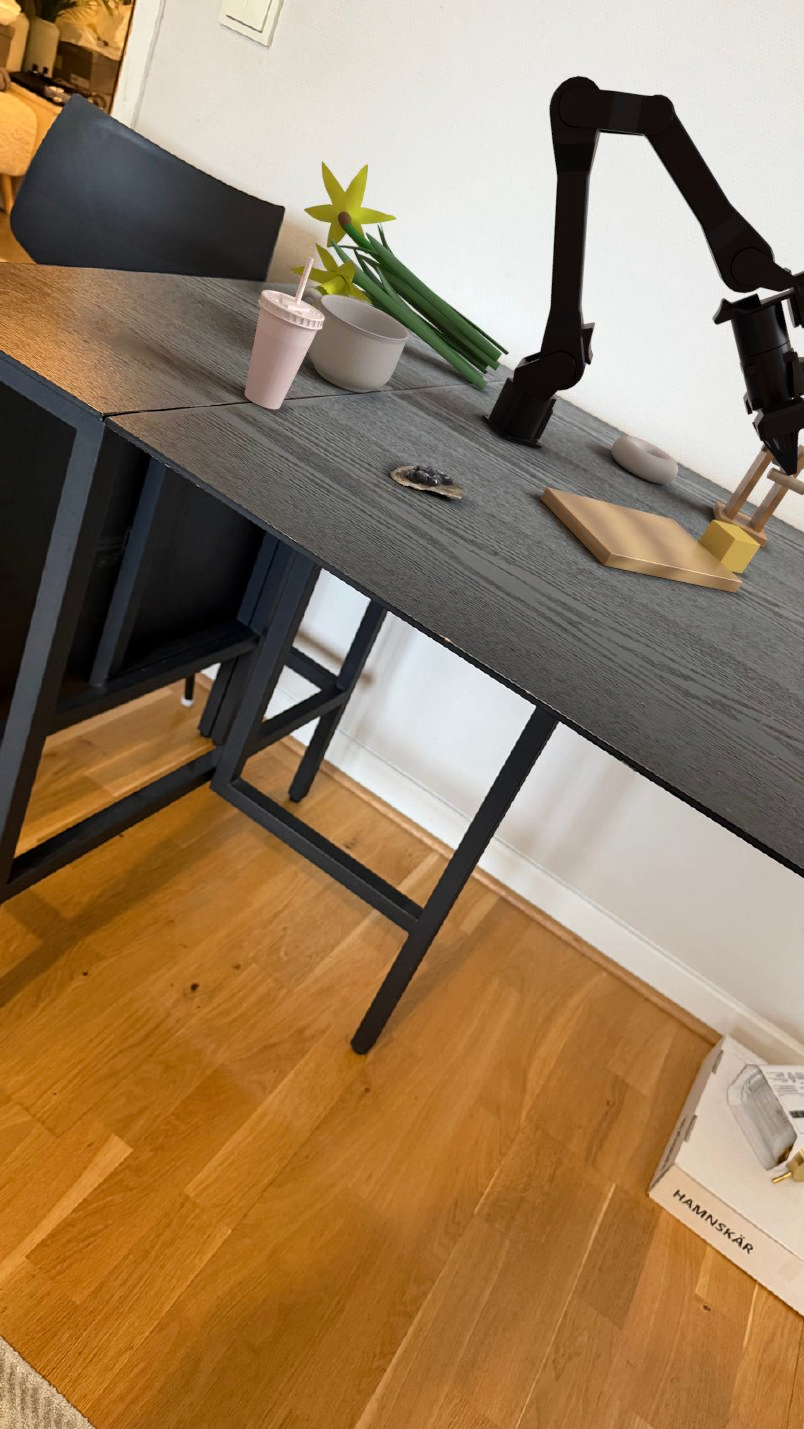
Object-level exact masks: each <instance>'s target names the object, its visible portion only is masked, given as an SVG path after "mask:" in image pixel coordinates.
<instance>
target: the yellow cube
mask: <svg viewBox="0 0 804 1429" xmlns="http://www.w3.org/2000/svg"><path fill="white" fill-rule="evenodd" d="M698 542H699V543H700V544H701V545H702V546H703V547H704V548H706V549H707V550H708V551H709V552H710V553H711V554H712V555H713V556H714V557H716V558H717V559H718V560H719V561H720V562H721V563H722V564H723V565H724V566H726V567H727V568H728V569H729V570H730V571H731V572H732V573H736V574H743V572H744V571H745V569H746V567H748V565H749V564H750V562H751V560H752V559H753V558H754V556H755V555H756V553H757V552H758V550H759V549H760V548H761V547H760V544H759V543H757V542H756V541H755V540H754V539H753V538H751V537H750V536H749V535H748V534H747V533H745V532H744V531H743V530H742V529H741V528H739V527H738V526H736V525H732V524H728V523H724V522H720V521H717V520H715V519H711V521H710V523H709V525H708V526H707V528H705V531H704V532H703V534H702V536H701V537H700V539H699V540H698Z"/></svg>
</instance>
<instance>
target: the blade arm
mask: <svg viewBox="0 0 804 1429" xmlns="http://www.w3.org/2000/svg"><path fill="white" fill-rule="evenodd" d="M771 464H772V465H774V466H777V467H778V468H779V469H778V468H776V467H770V469H769V470H768V472H767V473H766V479H767V480H770V481H772V482H774V483H775V482H776V483H778V484H780V485H782V486H784V487H786V488H788V489H789V490H790V491H791V492H795V493H796V494H798V495H800V496H804V481H802V480H800V479H798V478H794V477H793V475H791V476H788V475H787V474H786V472H785V471H784V470H783V468H782V467H781V466H780V464H779V463H778V462H777V460H776V459H775V457H774V458H773V459H772V461H771Z"/></svg>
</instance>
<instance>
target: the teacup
mask: <svg viewBox="0 0 804 1429" xmlns="http://www.w3.org/2000/svg"><path fill="white" fill-rule="evenodd" d="M307 298H311V299H312V300H313V301H314V302H315V306H316V309H317V310H319V311H320V312H321V313H322V314H323V315H324V317H325V319H324V322H323V325H322V329H320V330H317V332H316V334H315V336H314V338H313V341H312V343H311V345H310V347H309V349H308V351H307V354H308V356H309V359H310V360H311V363H312V364H313V365H314V369H315V371H316V372H317V373H318V374H319V376H320V377H322V378H323V379H325V380H326V381H328V382H329V383H331V384H332V385H334V386H336V387H338V388H341V389H342V390H343V389H344V390H346V391H350V392H354V393H361V394H363V393H368V392H370V391H372V390H375V389H379V388H381V387H383V386H384V385H386V384H387V383H388V382H389V380H390V379H391V378H392V375H393V374H394V372H395V369H396V367H397V365H398V363H399V361H400V358H401V356H402V354H403V350H404V348H405V346H406V342H408V340H409V339H410V333H409V331H408V329H407V328H406V327H405V326H403V325H402V324H401V323H399V322H398V321H397V320H395V319H394V318H392V317H391V316H389V315H388V314H386V313H384V312H382V311H381V310H379V309H376V308H374V307H372V306H373V305H372V306H370V305H371V304H369V303H365V302H364V301H362V300H359V299H356V298H353V297H350V296H349V297H345V296H340V295H331V294H329V295H323V296H322V295H321V293H320V292H319V291H317V290H316V289H315V288H313V287H305V288H304V291H303V294H302V297H301V300H302V301H304V302H305V299H307Z"/></svg>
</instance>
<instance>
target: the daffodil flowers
mask: <svg viewBox="0 0 804 1429" xmlns="http://www.w3.org/2000/svg"><path fill="white" fill-rule="evenodd" d="M368 170H369V165H368V164H367V163H366V164H365V165H363V167H361V168H360V170H359V171H358V172H357V174H356V175H355V176H354V177H353V179H352V180H351V181H350V183H349V185H348V186H347V188H346V190H345V189H344V188H343V187H342V185H341V183H340V182H339V181H338V179H337V178H336V177H335V175H334V174H333V172H332V171H331V170H330V168H329V167H328V166H327V165H326V163H325V162H324V161H321V177H322V180H323V185H324V188H325V191H326V193H327V196H328V197H329V199H330V202H331V203H328V204H326V203H325V204H319V205H314V206H309V207H306V208H303V211H304V212H305V213H307V215H309V216H310V217H311V218H313V219H315V220H317V221H319V222H322V223H329V224H330V226H329V229H328V235H327V240H326V248H327V249H330V248H333V249H334V251H335V253H336V255H337V256H338V257H339V259H340V260H341V261H342V264H340V265H338V263H337V262H336V260H335V258H334V256H333V255H332V254H331V253H330V251H328V250H327V249H326V248H324V247H323V246H321V245H320V244H318V243H317V242H315V243H314V244H315V248H316V251H317V253H318V256H319V257H320V260H321V262H322V264H323V267H324V269H325V270H323V269H319V268H316V267H311V270H310V273H309V276H308V279H309V280H311V281H313V282H316V283H318V284H320V285H317V286H315V288H314V289H316V290H317V291H319V292H320V293H321V295H322V296H323V295H329V294H331V295H340V296H345V297H349V298H350V297H351V298H353V299H356V300H359V301H362V302H367V304H369V305H370V306H372V307H374V308H376V309H379V310H381V311H382V312H384V313H386V314H388V315H389V316H391V317H392V318H394V319H395V320H397V321H398V322H399V323H401V324H402V325H403V326H404V327H405V328H406V329H407V330H409V331H411V332H412V333H413V334H415V336H417V337H418V338H419V339H420V340H422V341H423V342H424V343H425V344H426V345H427V346H429V347H430V348H431V349H432V350H433V351H435V352H436V353H437V354H438V355H439V356H440V357H442V358H443V359H444V360H445V361H446V362H447V363H449V364H450V365H451V366H452V367H453V368H455V370H457V371H458V372H459V373H460V374H461V375H462V376H463V377H464V378H466V379H467V380H468V381H469V382H470V383H472V384H473V385H474V386H475V387H476V388H478V389H479V390H480V392H483V390H484V389H485V387H486V386H487V384H488V382H487V381H486V380H484V375H487V374H488V372H489V371H488V370H487V368H488V367H490V368H491V369H492V370H494V372H495V371H497V370H498V368H499V367H500V365H501V363H500V362H499V359H500V358H501V356H502V355H503V354H504V355H505V356H507V355H509V354H510V351H508V350H507V349H506V348H505V347H504V346H502V345H501V344H500V343H499V342H498V341H496V340H495V339H494V338H492V337H491V336H490V335H489V334H488V333H486V332H485V331H484V330H483V329H481V328H480V327H479V325H477V324H475V323H474V322H473V321H471V320H470V319H469V318H467V317H466V316H465V315H464V314H462V312H460V311H459V310H458V309H456V308H455V307H454V306H452V305H451V304H449V303H448V302H447V301H446V300H445V299H443V298H442V297H440V296H439V295H438V294H437V293H436V292H434V291H433V290H432V289H431V288H430V287H429V286H427V284H425V282H423V281H422V280H421V279H420V278H419V277H418V276H417V275H416V274H415V273H414V272H412V271H411V270H410V269H409V268H408V267H407V266H406V265H405V264H404V263H403V262H402V261H401V260H399V259H398V258H397V257H396V255H395V254H394V252H393V251H392V249H391V248H390V246H389V244H388V242H387V240H386V236H385V233H384V232H385V231H384V229H383V226H382V223H386V222H391V221H396V220H397V217H396V216H394V215H393V214H387V213H384V212H382V211H379V210H375V209H371V208H368V207H366V206H365V207H363V206H362V204H363V201H364V197H365V191H366V186H367V180H368ZM371 224H376V225H377V229H378V230H377V231H378V233H379V234H378V235H379V238H380V241H381V242H380V241H379V240H377V239H376V238H375V237H374V236H372V235H371V234H370V233H368V232H364V229H363V226H362V225H371ZM379 224H380V225H379ZM346 235H347V237H349V238H350V239H351V241H353V243H355V244H356V246H354V245H346V244H342V245H341V244H340V245H339V243H341V241H342V240H343V239H344V238H345V237H346ZM366 237H367V238H366ZM343 249H349V250H352V251H353V253H354V256H355V258H356V261H357V262H358V264H357V263H355V262H354V260H352V258H351V257H350V256H349V255H348V254H347V252H345V251H344V250H343ZM358 251H359V252H363V253H364V254H366V255H369V256H370V257H371V258H370V257H368V256H366V255H364V254H361V253H359V252H358ZM369 266H370V267H371V268H373V270H374V271H375V273H376V274H377V276H378V277H379V278H378V277H377V276H376V275H375V273H374V272H373V270H371V268H370V267H369ZM289 269H290V271H292V272H293V273H295V274H297V275H299V276H300V277H302V275H303V272H304V269H305V266H302V265H301V266H296V267H291V268H289ZM308 279H307V280H308ZM311 306H313V307H314V308H316V306H315V302H314V300H313V301H312V305H311ZM410 306H411V307H410ZM412 308H413V309H412ZM418 313H419V314H418ZM479 371H480V372H481V373H482V374H483V375H482V374H481V373H480V372H479Z"/></svg>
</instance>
